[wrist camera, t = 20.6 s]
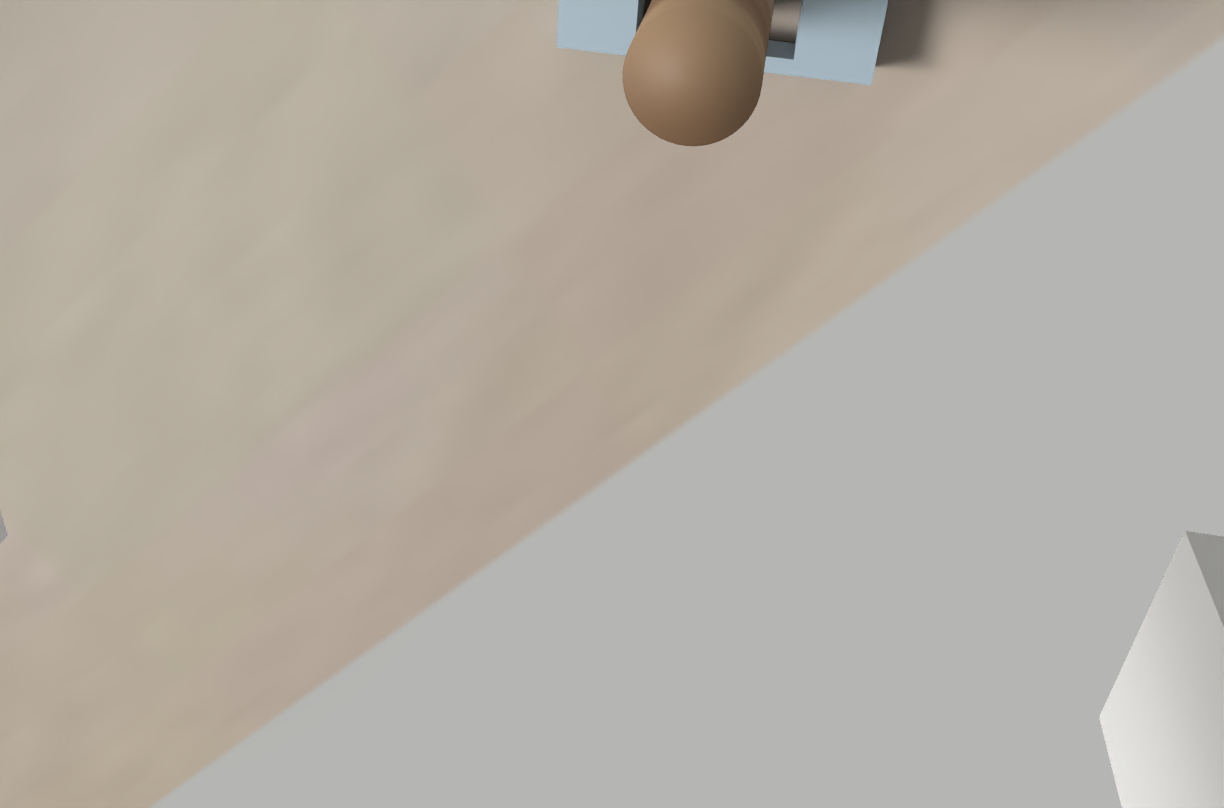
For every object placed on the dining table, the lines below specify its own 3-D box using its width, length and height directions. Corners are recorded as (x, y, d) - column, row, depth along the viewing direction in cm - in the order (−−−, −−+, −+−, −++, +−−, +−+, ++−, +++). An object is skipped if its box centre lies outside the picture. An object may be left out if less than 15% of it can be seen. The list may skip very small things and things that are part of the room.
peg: (682, -100, 35) (626, 1, 26) (786, -91, 35) (770, 14, 25) (674, 6, 37) (619, 138, 27) (773, 15, 37) (753, 152, 27)
